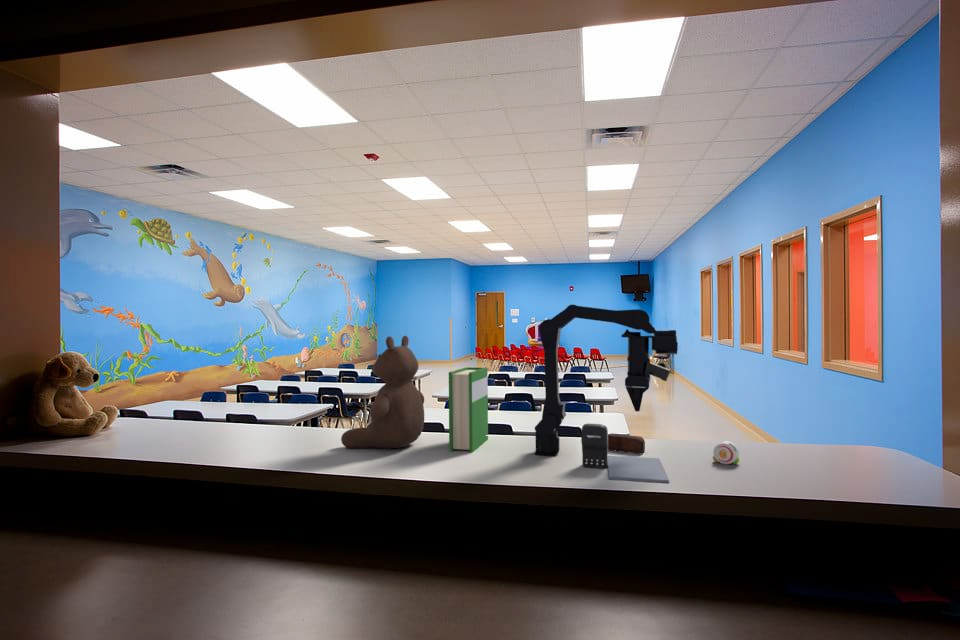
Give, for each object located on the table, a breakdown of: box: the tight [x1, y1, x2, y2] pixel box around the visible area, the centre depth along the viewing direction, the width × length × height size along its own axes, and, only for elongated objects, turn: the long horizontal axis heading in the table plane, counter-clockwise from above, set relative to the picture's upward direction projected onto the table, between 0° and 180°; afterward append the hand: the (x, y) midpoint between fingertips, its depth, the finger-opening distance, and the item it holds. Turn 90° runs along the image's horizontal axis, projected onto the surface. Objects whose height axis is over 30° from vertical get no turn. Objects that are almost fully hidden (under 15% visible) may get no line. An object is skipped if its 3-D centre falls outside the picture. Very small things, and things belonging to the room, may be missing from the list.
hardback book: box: [448, 366, 489, 454], centre depth 159 cm, size 18×7×24 cm, turn 164°
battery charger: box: [580, 422, 609, 469], centre depth 134 cm, size 7×4×11 cm, turn 72°
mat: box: [607, 455, 670, 483], centre depth 131 cm, size 14×20×1 cm
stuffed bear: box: [340, 335, 425, 449], centre depth 160 cm, size 29×23×35 cm
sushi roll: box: [712, 440, 740, 465], centre depth 136 cm, size 4×6×6 cm
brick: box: [608, 433, 646, 454], centre depth 150 cm, size 11×4×5 cm, turn 63°
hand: (638, 408), depth 142 cm, fingers open, 9 cm apart
